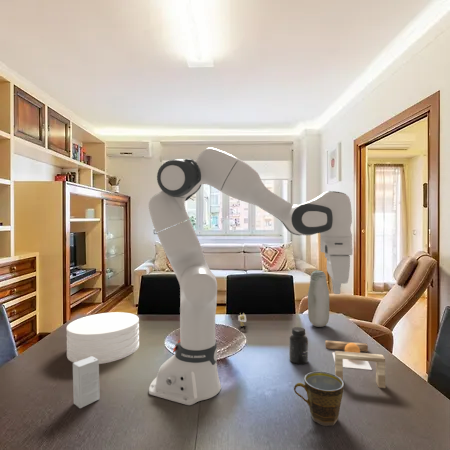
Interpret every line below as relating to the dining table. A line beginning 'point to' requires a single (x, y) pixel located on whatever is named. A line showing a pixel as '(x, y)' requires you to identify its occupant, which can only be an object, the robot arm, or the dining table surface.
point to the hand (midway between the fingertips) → (336, 292)
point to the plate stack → (103, 337)
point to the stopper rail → (342, 345)
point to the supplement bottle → (298, 346)
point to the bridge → (363, 357)
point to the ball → (352, 348)
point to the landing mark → (355, 363)
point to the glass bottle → (318, 299)
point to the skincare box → (86, 381)
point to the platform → (242, 318)
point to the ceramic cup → (323, 396)
